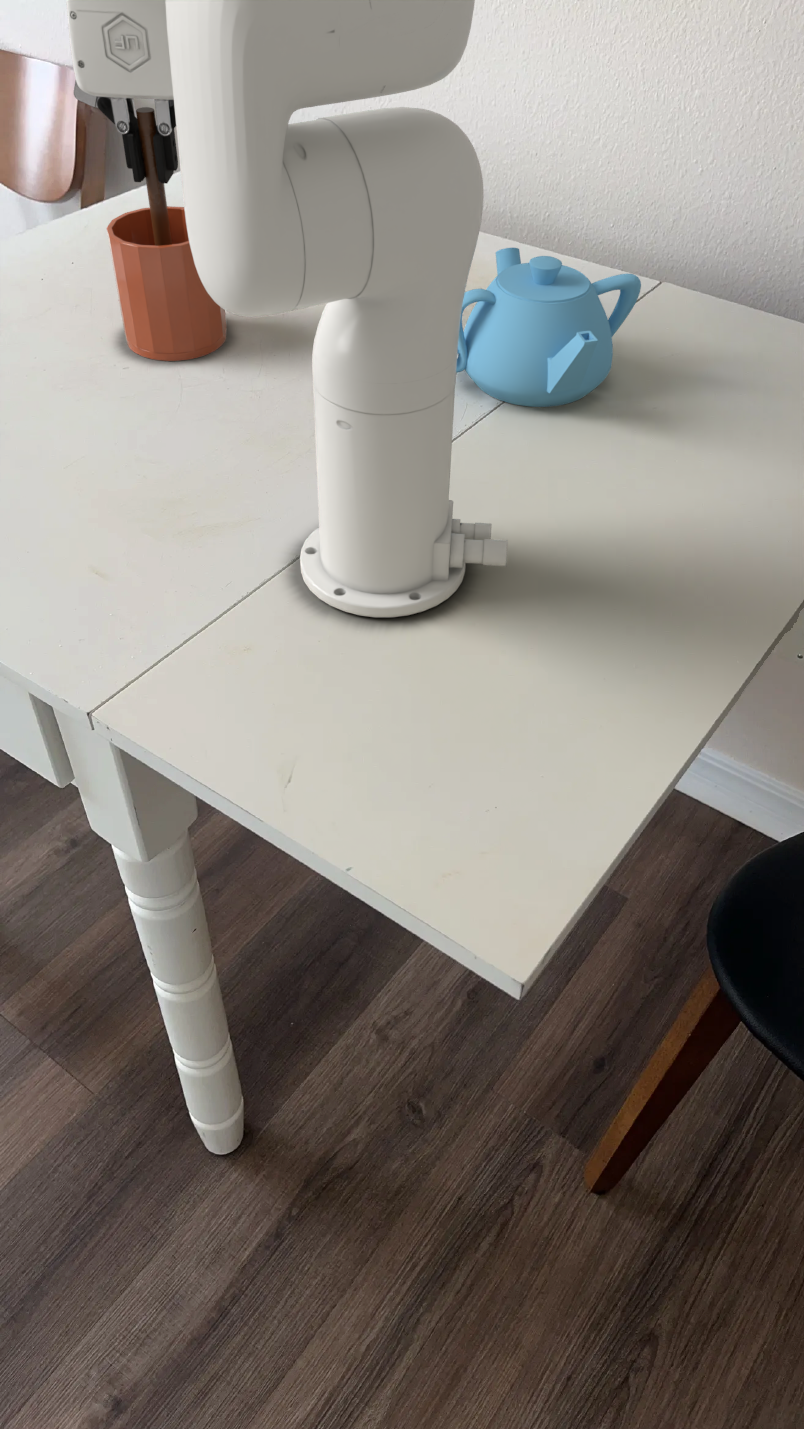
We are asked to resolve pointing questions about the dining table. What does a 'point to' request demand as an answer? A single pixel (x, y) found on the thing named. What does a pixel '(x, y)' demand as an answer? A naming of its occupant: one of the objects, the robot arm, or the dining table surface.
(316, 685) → the dining table surface
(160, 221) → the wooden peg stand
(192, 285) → the holder
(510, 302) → the teapot
